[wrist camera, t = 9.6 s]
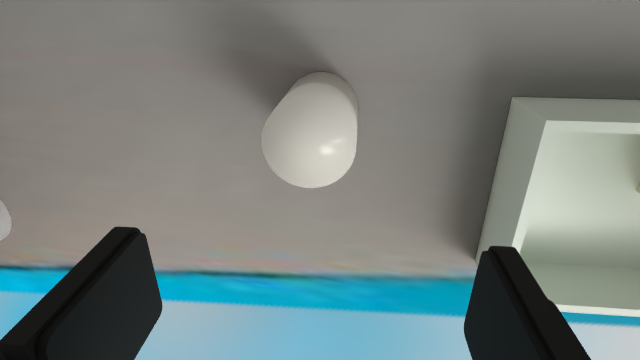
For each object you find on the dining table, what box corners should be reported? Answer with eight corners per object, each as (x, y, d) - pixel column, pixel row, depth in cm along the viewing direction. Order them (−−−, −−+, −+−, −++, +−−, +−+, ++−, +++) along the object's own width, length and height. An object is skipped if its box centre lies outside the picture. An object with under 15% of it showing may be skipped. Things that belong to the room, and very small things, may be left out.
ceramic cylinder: (368, 84, 25) (369, 114, 19) (345, 151, 27) (339, 198, 21) (295, 62, 25) (272, 85, 19) (278, 131, 27) (252, 172, 21)
